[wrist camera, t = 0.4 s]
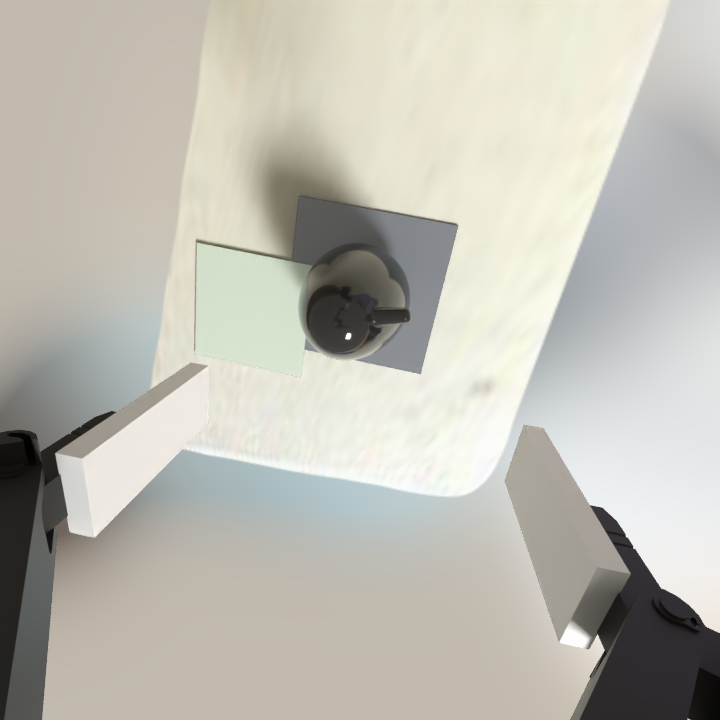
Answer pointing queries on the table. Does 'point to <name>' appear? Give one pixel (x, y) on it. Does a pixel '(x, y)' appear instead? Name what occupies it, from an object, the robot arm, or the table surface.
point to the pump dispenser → (353, 301)
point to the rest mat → (249, 309)
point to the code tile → (404, 243)
